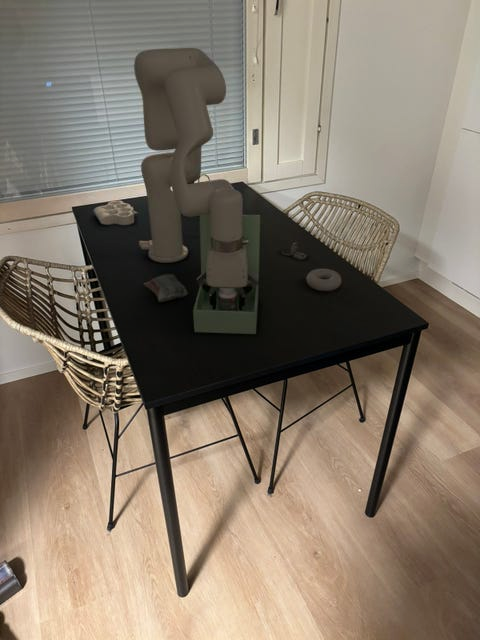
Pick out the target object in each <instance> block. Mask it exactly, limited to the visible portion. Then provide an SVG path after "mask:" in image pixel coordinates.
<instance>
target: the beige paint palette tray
mask: <svg viewBox="0 0 480 640" xmlns="http://www.w3.org/2000/svg"><path fill="white" fill-rule="evenodd" d="M92 212H93V214H94V215H95V217H96V218H97V219H98V221H99V222H100V224H102V225H107V226H108V225H119V226H130V225H132V224H134V223H135V215H137V214H139V213H138V211H135V210H134V207H133V206H131V204H129V203H125V202H124V201H123V200H111V201H108V202H107V204H105V205H100V206H97V207H95V208H94V209H93V211H92Z"/></svg>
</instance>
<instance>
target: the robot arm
mask: <svg viewBox="0 0 480 640" xmlns="http://www.w3.org/2000/svg"><path fill="white" fill-rule="evenodd" d="M133 72H134V78H135V80H136V83H137V86H138V89H139V91H140V95H141V99H142V114H143V115H142V116H143V130H144V139H145V144H146V146H147V147H148V148H149V149H150V150H152V151H156V153H152V154H149V155H147V156H145V157H144V158H143V159H142V160H141V164H140V171H141V176H142V180H143V183H144V186H145V192H146V198H147V207H148V215H149V226H150V234H151V239H149V240H139V242H138V246H139V247H140V248H141V250H145V251H146V250H148V252H147V253H148V258H149V259H150V260H152V261H154V262H158V263H162V264H163V263H164V264H166V263H167V264H169V263H176V262H179V261H182V260H184V259H186V257H188V255H189V249H188V247H186V246H185V245H184V244H183V227H182V216H184V217H187V218H193V217H200V215H205V214H210V233H211V244H210V245H209V247H208V252H207V264H206V271H204V272H203V273H202V274H200V275H199V276H198V277H196V279H195V280H196V281H195V284H197V285H198V286H199V287H200V286H201V287H202V288H203V289H204V290H205V291H206V292H207V293H208V295H209V296H210V305H212V307H213V310H215V309H216V304H217V301H216V292H215V289H216V287H235V288H238V290H239V292H240V294H239V310H240V311H242V306H245V296H246V294H248V293H249V292H250V291H251V290H252V289H253V288H254V287H256V286H257V285H258V286H259V283H258V281H259V279H258V280H257V279H256V278H255V277H254V276H253V275H252V274H251V273H250V272H249V271H248V259H247V251H246V247H245V244H248V243H249V239H248V238H244V237H243V215H244V213H243V211H244V209H243V208H244V207H243V206H244V205H243V203H244V202H243V195H242V193H241V192H240V191H239V190H237V189H235V188H234V187H233V185H232V184H231V182H230V181H228V180H227V179H225V178H219V179H217V178H216V179H210V181H209V180H204V181H199V182H198V179H199V177H200V175H202V174H201V173H202V146H204V145H206V144H207V143H208V142H209V141H211V140H212V138H213V136H214V129H213V125H212V121H211V118H210V112H209V110H208V106H212V105H219V104H222V103H223V101H224V100H225V99H226V95H227V85H226V80H225V77H224V75H223V73H222V71H221V68H220V67H219V66H218V64H216V63H215V62H214V61H213V59H211V58H210V57H209V56H208V55H207V53H205V52H204V51H203V50H201V49H199V48H196V47H184V48H183V47H181V48H180V47H179V48H154V49H153V48H152V49H146V50H142V51H140V52H139V53H137V54H136V55H135V58H134V61H133ZM170 150H171V151H170ZM172 150H173V151H172ZM161 151H165V152H161ZM157 152H158V153H157ZM200 178H201V177H200ZM199 180H200V179H199ZM192 182H194V183H192ZM187 183H191V184H187ZM205 279H206V281H207V283H206V282H205V281H204V280H205ZM247 280H249V281H250V282H251V283H250V284H248V285H247ZM246 285H247V286H246ZM245 286H246V287H245Z"/></svg>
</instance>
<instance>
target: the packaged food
mask: <svg viewBox="0 0 480 640" xmlns="http://www.w3.org/2000/svg"><path fill="white" fill-rule="evenodd" d="M143 286H144V287H146V288H148V289H149V291H151V292H152V293H153V294H154V295H155V297H156V298H157V300H158V301H157V302H158V303H162V302H163V303H164V302H167V301H171V300H172V301H173V300H175V299H181V298H184V297H185V296H188V295H189V292H188V291H187V289H186V287H185V285H183V284H182V283H181V282H180V281H179V279H178V278H177V277H176V276H175V274H174V273H168V274H162V275H159V276H156V277H154V278H152V279H150V280H149V281H146V282H144V283H143Z"/></svg>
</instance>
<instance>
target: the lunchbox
mask: <svg viewBox="0 0 480 640" xmlns="http://www.w3.org/2000/svg"><path fill="white" fill-rule="evenodd" d="M204 281H205V282H206V283H207V281H206V279H205V280H204ZM250 283H251V282H250V281H249V280H248V279H247V285H248V284H250ZM259 284H260V283H259V280H258V285H257V286H256V287H254V288H253V289H252V290H251V291H250V292H249V293H248V294H246V296H245V306H242V311H240V310H239V294H240V292H239V290H238V288H235V291H236V292H237V311H218V310H219V309H218V292H219V287H216V289H215V292H216V301H217V304H216V309H215V310H213V307H212V305H210V296H209V295H208V293H207V292H206V291H205V290H204V289H203V288H202V287H201V286H200V285H199V287H198V291H197V295H196V299H195V302H194V306H193V310H192V318H193V331H194V333H210V334H211V333H212V334H213V333H214V334H238V335H239V334H241V335H242V334H243V335H256V334H257V326H258V325H257V324H258V307H259ZM247 285H246V286H247ZM246 286H245V287H246Z"/></svg>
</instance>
